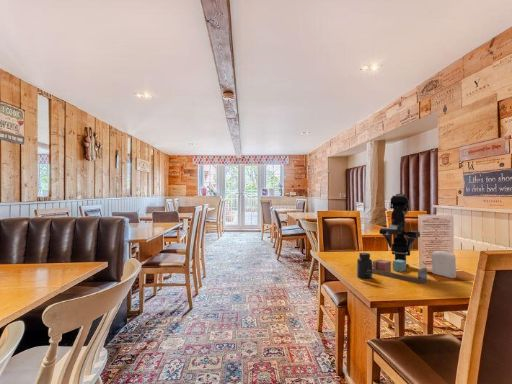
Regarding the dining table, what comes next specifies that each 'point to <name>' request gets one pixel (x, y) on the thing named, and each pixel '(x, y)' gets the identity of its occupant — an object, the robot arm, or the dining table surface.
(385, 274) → the shelf board
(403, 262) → the teal block
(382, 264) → the pink block
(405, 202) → the robot arm
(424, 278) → the bookend
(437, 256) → the photo printer
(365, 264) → the supplement bottle
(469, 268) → the dining table surface
